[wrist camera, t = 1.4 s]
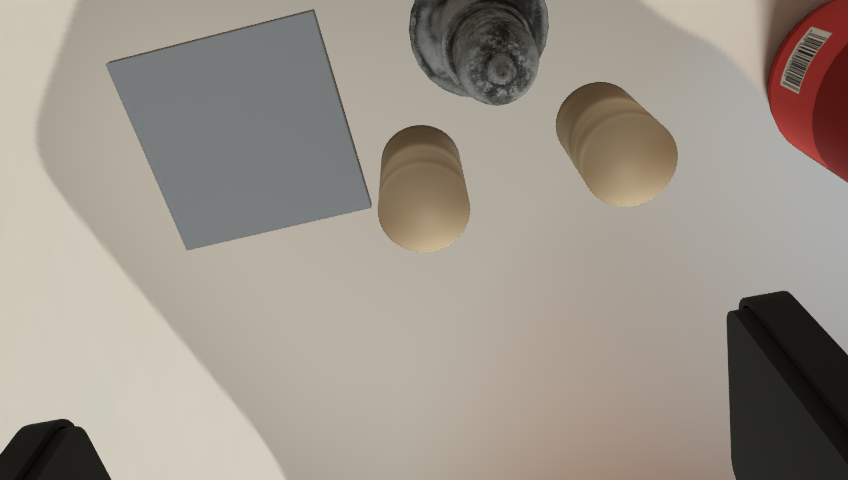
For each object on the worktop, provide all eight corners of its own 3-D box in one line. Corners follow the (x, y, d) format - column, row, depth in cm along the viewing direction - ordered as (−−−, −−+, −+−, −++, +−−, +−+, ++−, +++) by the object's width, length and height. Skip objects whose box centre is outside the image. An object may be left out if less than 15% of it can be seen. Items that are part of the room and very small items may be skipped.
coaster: (110, 61, 34) (105, 64, 33) (314, 9, 33) (312, 11, 32) (189, 245, 38) (186, 250, 38) (371, 202, 37) (371, 207, 37)
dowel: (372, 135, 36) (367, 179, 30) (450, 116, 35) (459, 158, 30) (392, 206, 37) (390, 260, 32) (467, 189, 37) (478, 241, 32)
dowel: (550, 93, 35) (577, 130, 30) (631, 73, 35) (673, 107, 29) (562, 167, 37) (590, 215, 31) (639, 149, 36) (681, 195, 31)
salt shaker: (395, 62, 34) (393, 142, 23) (425, -68, 32) (438, -46, 21) (513, 90, 35) (563, 181, 24) (551, -34, 32) (626, 5, 22)
